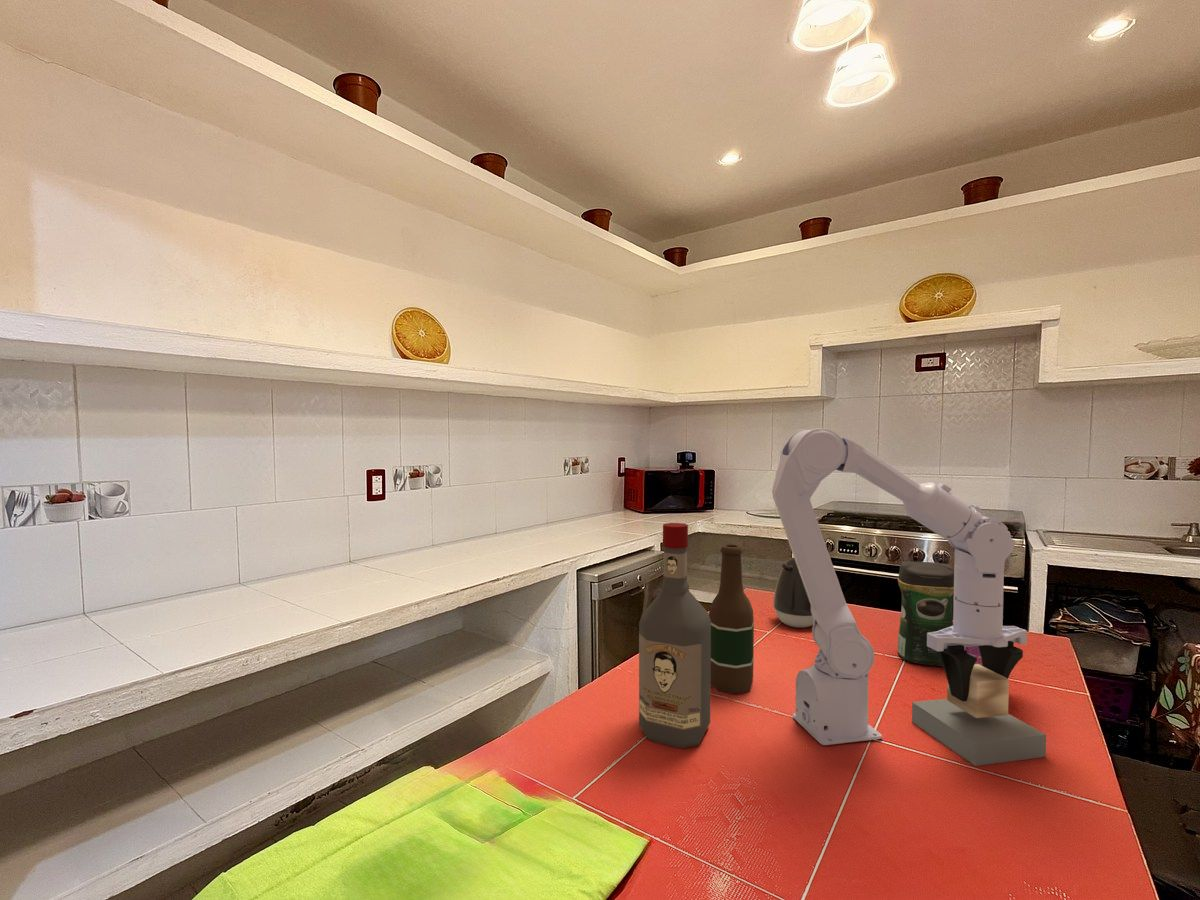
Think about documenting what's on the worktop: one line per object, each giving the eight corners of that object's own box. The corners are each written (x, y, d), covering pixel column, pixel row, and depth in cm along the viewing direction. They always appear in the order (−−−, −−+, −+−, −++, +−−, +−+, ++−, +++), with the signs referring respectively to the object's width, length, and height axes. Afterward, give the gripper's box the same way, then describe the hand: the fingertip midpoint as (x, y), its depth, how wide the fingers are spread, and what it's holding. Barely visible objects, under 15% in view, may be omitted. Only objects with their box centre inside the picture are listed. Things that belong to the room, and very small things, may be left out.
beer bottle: (723, 670, 99) (724, 539, 99) (762, 684, 94) (763, 545, 93) (698, 684, 94) (699, 545, 93) (738, 699, 88) (739, 552, 88)
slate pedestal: (974, 766, 71) (975, 743, 71) (911, 721, 82) (912, 702, 81) (1045, 756, 73) (1046, 734, 73) (974, 714, 84) (975, 695, 83)
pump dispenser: (763, 622, 124) (763, 556, 124) (790, 613, 131) (790, 550, 130) (803, 635, 116) (804, 565, 116) (830, 625, 122) (831, 558, 122)
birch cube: (976, 718, 74) (977, 681, 74) (947, 700, 79) (947, 666, 79) (1008, 715, 75) (1009, 679, 75) (977, 697, 80) (978, 663, 80)
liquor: (655, 708, 86) (656, 518, 85) (713, 721, 82) (714, 522, 81) (634, 738, 77) (634, 527, 76) (697, 754, 73) (698, 532, 72)
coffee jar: (949, 654, 106) (950, 559, 106) (961, 671, 99) (963, 569, 98) (893, 647, 110) (894, 556, 109) (901, 663, 102) (902, 565, 102)
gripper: (956, 613, 71) (954, 715, 72) (1049, 606, 74) (1046, 705, 74) (916, 597, 78) (914, 690, 79) (1001, 591, 81) (1000, 681, 81)
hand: (975, 696), depth 77 cm, fingers closed on birch cube, 5 cm apart
